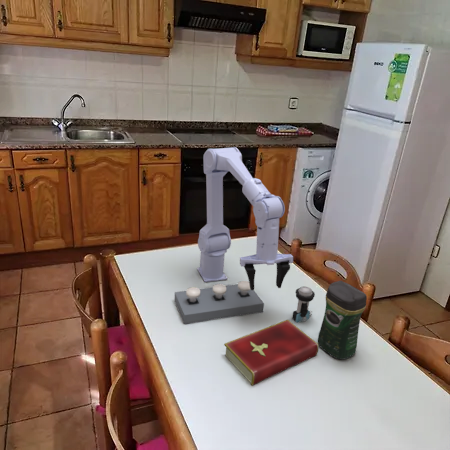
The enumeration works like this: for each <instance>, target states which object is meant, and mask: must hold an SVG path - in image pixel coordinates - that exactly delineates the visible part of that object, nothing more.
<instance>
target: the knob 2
mask: <svg viewBox="0 0 450 450" xmlns="http://www.w3.org/2000/svg"><path fill="white" fill-rule="evenodd" d="M237 284H238V289H239V290H241V294H242V295H247V291H249V290H251V288H250V284H249V280H248V281H247V280H241V281H238V283H237Z"/></svg>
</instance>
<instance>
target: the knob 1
mask: <svg viewBox="0 0 450 450" xmlns="http://www.w3.org/2000/svg"><path fill="white" fill-rule="evenodd" d="M200 289H201V288H198V287H196V286H195V287H188V288H187V289H186V290H185V291H186V296H187V297H189V298H190V299H189V301H190V302H196V298H198V297H199V296H200Z"/></svg>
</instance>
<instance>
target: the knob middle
mask: <svg viewBox="0 0 450 450" xmlns="http://www.w3.org/2000/svg"><path fill="white" fill-rule="evenodd" d="M226 286H227V285H224V284H223V283H216V284H214V285H213V286H212V287H213V293H215V294H216V298H218V299H221V298H222V295H223V294H225V293H226Z"/></svg>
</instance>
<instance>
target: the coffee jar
mask: <svg viewBox="0 0 450 450" xmlns="http://www.w3.org/2000/svg"><path fill="white" fill-rule="evenodd" d="M367 297H368V296H367V294H366V293H364V292H363V291H361V290H360V289H359V288H357V287H354V286H353V285H352V284H349V283H347V282H345V281H343V280H338V281H334V282H331V283H330V284H329V286H328V288H327V290H326V293H325V310H324V314H323V319H322V322H321V326H320V329H319V332H318V336H317V343H318V345H319V347H320V348H321V349H322V350H323V351H325V352H326V353H327V354H329V356H332V357H333V358H335V359H337V360H347V359H349V358H352V357H353V356H354V355H355V354H356V352H357V347H358V336H359V330H360V329H359V328H360V323H361V318H362V314H363V313H364V311H365V310H366V308H367V299H368V298H367Z"/></svg>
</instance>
